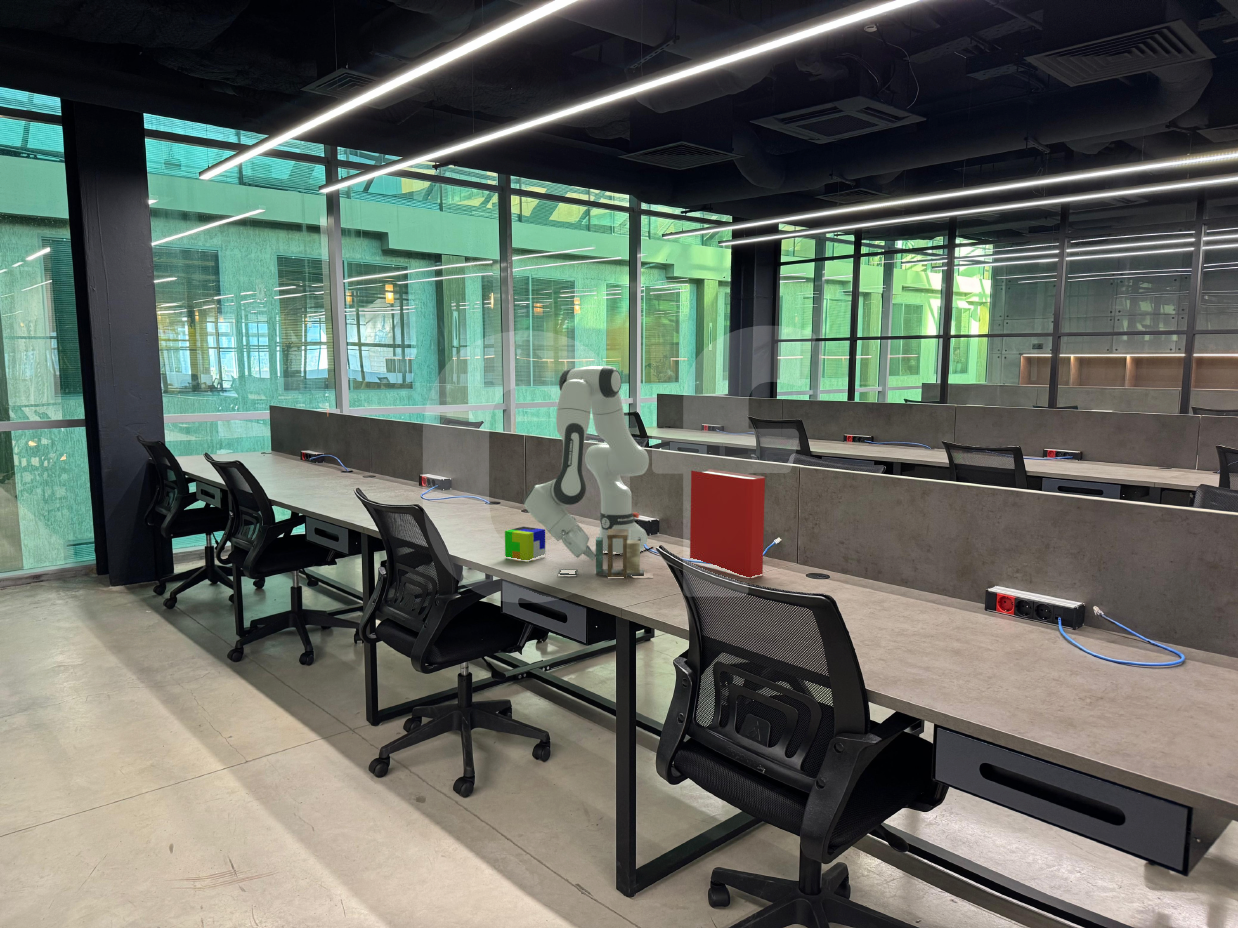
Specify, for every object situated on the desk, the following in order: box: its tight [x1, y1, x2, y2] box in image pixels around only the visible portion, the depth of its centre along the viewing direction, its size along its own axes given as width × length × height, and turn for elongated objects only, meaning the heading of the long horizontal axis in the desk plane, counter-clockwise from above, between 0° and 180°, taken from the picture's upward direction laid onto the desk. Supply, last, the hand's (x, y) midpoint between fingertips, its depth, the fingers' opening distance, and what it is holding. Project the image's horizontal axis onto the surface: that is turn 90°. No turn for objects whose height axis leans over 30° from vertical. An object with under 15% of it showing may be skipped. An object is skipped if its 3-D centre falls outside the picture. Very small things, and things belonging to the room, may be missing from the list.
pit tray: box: [557, 568, 579, 576], centre depth 256 cm, size 6×6×1 cm
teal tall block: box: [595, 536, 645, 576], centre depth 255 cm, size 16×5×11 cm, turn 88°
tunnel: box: [607, 529, 628, 579], centre depth 255 cm, size 6×9×14 cm
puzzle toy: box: [504, 526, 546, 560], centre depth 278 cm, size 10×10×10 cm
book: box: [689, 468, 766, 577], centre depth 263 cm, size 27×8×32 cm, turn 37°
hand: (594, 558), depth 255 cm, fingers closed, pressing on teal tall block
